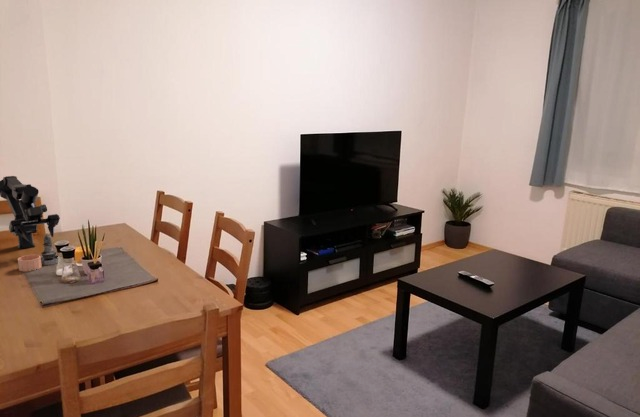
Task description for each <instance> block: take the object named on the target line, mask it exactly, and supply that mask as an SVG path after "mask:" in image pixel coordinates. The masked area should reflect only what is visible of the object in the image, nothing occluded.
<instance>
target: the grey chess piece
mask: <svg viewBox="0 0 640 417" xmlns="http://www.w3.org/2000/svg"><path fill="white" fill-rule="evenodd" d="M53 244H54V243H53V242H52V236H51V235H50V234H48V233H45V235H44V236H43V244H42V246H43V247H44V250H43V251H42V252H41V253H40V255H41V257H43V258H45V259H44V260H43V261H49V260H55V259H56V258H54V257H55V256H56V255H57V252H58V251H57V250H54V248H53Z"/></svg>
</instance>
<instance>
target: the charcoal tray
mask: <svg viewBox="0 0 640 417" xmlns="http://www.w3.org/2000/svg"><path fill="white" fill-rule="evenodd" d="M57 257H58V254H56V256H55V257H54V258H56V259H55V260H49V261H43V260H44V259H45V258H43V256H41V264H42V266H49V265H50V266H51V265H52V266H53V265H55V264H58V263H57V261H58V258H57Z"/></svg>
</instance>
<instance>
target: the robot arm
mask: <svg viewBox="0 0 640 417" xmlns="http://www.w3.org/2000/svg"><path fill="white" fill-rule="evenodd" d="M38 196H39V189H38V188H37V187H35V186H33V185H31V184H29V183H28V184H23V183H22V182H21V181H20V180H19V179H18V177H17V176H15V175H8V176H6V175H5V176H3V177H2V179H1V180H0V197H1V198H3V199H4V200H6V202H7V204H8V205H9V208H10V210H11V211H12V212H11V213H12V214H13V216H14V219H13V220H10V221H9V226H8V230H9V232H10V233H12V235H14V236H15V237H17V239H18V244H17V248H18V249H19V250H21V249H28V248H34V247H36V245H35V242H34V237H33V234H36V233H37V231H38V230H37V229H38V228H37V227H38V225H44V224H46V225H47V229H48V231H49V236H51V238H54V232H55V227H57V225H58V224H59V222H60V219H61V217H60V215H59V214H57V213H54V214H47V218H43V214H44V213H47V211H48V207H47V205H46V204H41V205H39V206H37V205H36V203H37V200H38Z"/></svg>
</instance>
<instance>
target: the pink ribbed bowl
mask: <svg viewBox="0 0 640 417" xmlns="http://www.w3.org/2000/svg"><path fill="white" fill-rule="evenodd" d="M41 257H42V255H41V254H26V255H22V256H20V257H18V258H17V262H18V263H17V265H18V271H20V272H32V271H31V270H34V271H37V270H40V269H41V268H42V267H43V265H42V264H41ZM36 269H37V270H36Z"/></svg>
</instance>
